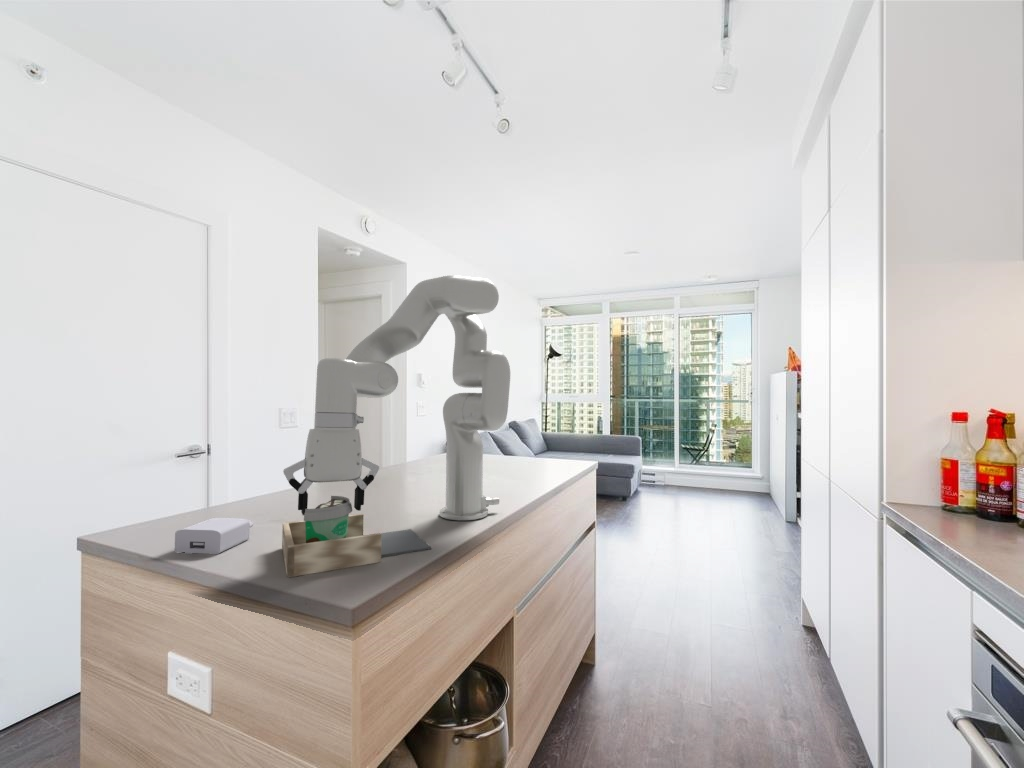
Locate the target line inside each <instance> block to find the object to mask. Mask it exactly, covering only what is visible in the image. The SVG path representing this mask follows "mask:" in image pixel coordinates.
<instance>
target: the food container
mask: <svg viewBox="0 0 1024 768" xmlns="http://www.w3.org/2000/svg"><path fill="white" fill-rule="evenodd" d="M352 512H353V506H352V502H351V500H350V498H349V497H345V496H341V495H330V500H329V501H328V502H326V503H325V502H324V503H320V504H318V505H317V506H316V507H315V508H307V509H305V513H304V515H303V520H304V521H305V527H306V543H311V542H319V541H326V540H333V539H341V538H346V537H347V527H348V517H349V515H350V514H351V513H352Z"/></svg>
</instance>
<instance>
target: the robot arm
mask: <svg viewBox="0 0 1024 768" xmlns="http://www.w3.org/2000/svg"><path fill="white" fill-rule="evenodd" d="M499 298H500V296H499V291H498V289H497V286H496V285H495V284H494V282H492V281H491V280H490V279H488V278H482V277H472V276H462V275H454V274H453V275H443V276H438V277H434V278H433V277H432V278H429V279H424V280H422V281H420V282H418V283H417V284H416V285H415V286H414V287H413V288H412V289H411V290H410V292H409V293H408V295H406V297H405V298H404V300H403V301H402V302H401V304H400V305H399V306H398V308H397V309H396V310H395V312H393V314H392V316H391V317H390V318H389V319H388V320H387V321H386V322H385V323H383V324H382V325H380V326H379V327H378V328H376V329H375V330H374V331H373V332H372V333H369V335H367V336H366V337H365V338H364V339H362V340H361V341H360V342H359V343H358V344H357V345H356V346H355V347H354V348H353V349H352V350H351V352H350V353H349V354H348V355H347V356H346V357H345V358H339V357H330V358H329V357H328V358H321V359H320V360H319V361H318V364H317V368H316V383H315V384H316V386H315V402H314V403H315V405H314V424H313V425H314V427H313V428H310V429H309V430H308V435H307V440H306V444H305V452H304V459H301V460H300V461H298V462H295V463H294V464H291V465H290V466H287V467H286V468H284V469H283V471H282V472H283V475H284V476H285V478H286V480H287V482H288V484H289V485H290V486H291V487H292V488H293V489H294V490H296V492H297V493H298V498H297V499H298V500H297V510H298V511H301V515H302V516H304V513H305V509H308V503H309V501H308V500H309V493H308V491H307V490H308V489H309V488H310V487H311V486H312V484H314V483H334V482H335V483H336V482H349V481H353V482H354V483H355V484H356V487H355V488H354V501H353V502H354V503H353V504H354V505H353V507H354V508H355V510H356V511H361V510H362V506H364V504H365V490H366V489H367V487H368V486H370V484H371V483H372V482H373V481H374V479H375V477H376V476H377V474H378V472H379V471H380V466H379V465H377V464H376V463H374V462H371V461H369V460H367V459H365V458H363V457H362V442H361V433H360V430H359V429H358V428H357V425H360V424H363V423H364V421H365V420H364V419H365V418H364V416H360V415H359V414H358V413H357V408H358V407H357V406H358V405H357V404H358V402H357V401H358V398H367V399H368V398H374V399H375V398H377V399H378V398H384V397H387V396H389V395H390V394H392V393H393V392H394V391H395V390H396V389H397V387H398V385H399V384H398V383H399V375H398V372H397V371H396V369H395V368H394V367H393V366H392V365H391V364H389V363H387V362H388V361H389V360H391V359H392V358H394V357H396V356H398V355H401V354H404V353H407V352H408V351H410V350H411V349H413V348H416V347H417V346H418V345H420V344H421V343H422V341H423V340H424V338H425V337H426V335H427V334H428V332H429V331H430V329H431V327H433V324H434V323H435V322H436V321H437V319H438V317H440V316H441V315H445V316H446V318H447V319H448V321H449V322H450V323H451V326H452V328H453V331H454V350H453V361H452V381H454V383H455V385H457V386H458V387H460V388H461V387H462V388H465V389H466V388H468V389H469V388H470V389H481V392H457V393H454V394H453V395H450V396H449V397H447V399H446V400H445V401H444V403H443V408H442V417H443V423H444V428H445V440H446V446H445V447H446V450H445V451H446V455H445V456H446V458H445V462H446V463H445V465H446V467H445V507H442V508H441V509H439V512H438V513H439V514H438V515H439V517H441V518H443V519H445V520H451V521H474V520H480V519H483V518H485V517H487V516H488V515H489V509H488V508H487V507H489V506H496V505H499V504H500V497H498V496H497V497H496V496H495V497H490V496H485V495H483V492H484V491H483V487H484V486H483V483H484V481H483V475H484V473H483V472H484V465H483V464H484V445H483V440H482V438H481V436H480V434H479V432H478V431H485V432H486V431H488V432H493V431H498V430H500V429H501V428H502V427H503V426H504V425H505V423H506V421H507V417H508V411H509V409H508V408H509V399H510V387H511V367H510V363H509V362H510V361H509V360H508V358H507V357H506V355H505V354H504V353H502V352H500V351H498V350H488V349H487V347H488V343H487V342H488V334H487V330H486V328H485V326H484V324H483V322H482V321H481V319H480V318H479V317H478V315H484V314H489V313H491V312H493V311H494V310H495V309H496V308H497V306H498V303H499ZM362 466H363V467H365V468H368V469H369V471H368V473H367V474H366V475H365V477H364V478H361V476H362V472H363V467H362ZM302 469H303V476H304V479H303V480H302V481H301V482H300V481H298V480H297V479H296V478H295V476H294V473H296V472H298V471H300V470H302Z"/></svg>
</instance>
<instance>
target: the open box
mask: <svg viewBox="0 0 1024 768" xmlns="http://www.w3.org/2000/svg"><path fill="white" fill-rule="evenodd" d="M364 517H365V516H364V513H358V514H357V513H356V514H349V517H348V527H347V537H346V538H341V539H333V540H326V541H319V542H311V543H306V527H305V521H304V519H303V520H295V521H288V522H287V521H286V522H282V537H281V539H282V540H281V541H282V543H281V550H282V554H283V560H284V566H285V567H284V568H285V572H286V578H294V577H298V576H300V577H301V576H305V575H311V574H318V573H323V572H329V571H334V570H342V569H348V568H352V567H353V568H354V567H358V566H365V565H369V564H370V565H371V564H376V563H381V562H382V557H381V537H382V534H381V533H382V532H378V533H371V534H370V533H369V534H365V535H364Z"/></svg>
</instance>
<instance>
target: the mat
mask: <svg viewBox="0 0 1024 768" xmlns="http://www.w3.org/2000/svg"><path fill="white" fill-rule="evenodd" d="M380 533H381V534H382V537H381V558H384V557H390V556H397V555H402V554H408V553H407V552H410V553H413V551H416V552H419V551H418V550H422V551H426V550H425V549H428V550H432V546H431V545H429V543H427V542H426V541H425V540H424V539H422V538H421V537H420V536H419V535H418V534H417V533H415V532H414V531H413V530H412V529H411V528H409V529H408V528H407V529H403V530H394V531H387V532H380Z"/></svg>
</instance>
